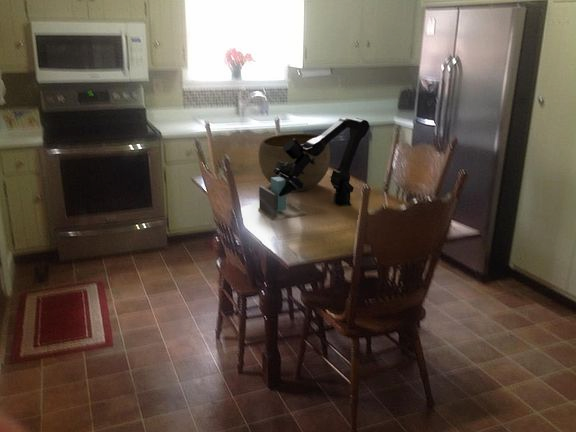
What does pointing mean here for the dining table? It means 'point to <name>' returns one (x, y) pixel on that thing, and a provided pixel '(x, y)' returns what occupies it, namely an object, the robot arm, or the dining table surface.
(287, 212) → the grey l-shaped bracket
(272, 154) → the brown bowl
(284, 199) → the tall teal pillar
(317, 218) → the dining table surface
